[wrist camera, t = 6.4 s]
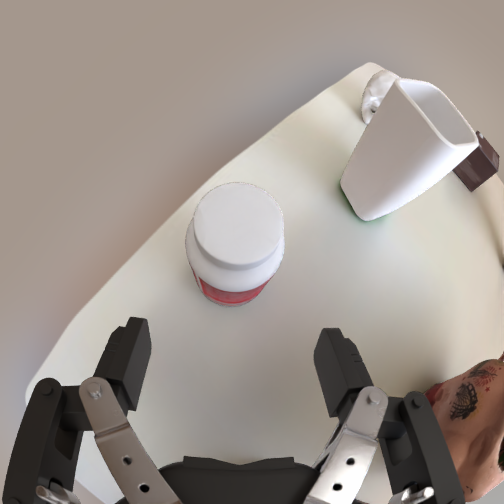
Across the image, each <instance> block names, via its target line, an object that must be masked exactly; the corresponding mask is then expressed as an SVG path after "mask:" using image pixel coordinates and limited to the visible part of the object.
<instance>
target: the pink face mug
mask: <svg viewBox="0 0 504 504" xmlns="http://www.w3.org/2000/svg"><path fill="white" fill-rule="evenodd" d="M503 361H504V352H503V354H502V356H501V357H500V358H499V359H498V360H497V359H490V360H486V361H483V362H480V363H479V364H477V365H475V366H474V367H472V368H471V369H469V370H468V371H466V372H465V373H463V374H461V375H459V376H456V377H454V378H452V379H449V380H447V381H445V382H442V383H438V384H435V385H433V386H432V387H431V388H429V389H428V390H427V391H426V392H425V393H424V395H425V396H426V397H427V399H428V401H429V403H430V405H431V407H432V410H433V412H434V414H435V416H436V419H437V421H438V423H439V426H440V428H441V431H442V433H443V436H444V438H445V441H446V443H447V446H448V449H449V451H450V454H451V457H452V460H453V462H454V465H455V468H456V471H457V474H458V477H459V480H460V484H461V487H462V490H463V494H464V497H465V502H472V501H475V500H478V499H480V498H481V497H482V496H484V495H485V494H486V493H487V492H488V491H490V490H491V489H492V488H494V487H495V486H497V485H498V484H500V483H501V482H502V481H503V480H504V362H503Z"/></svg>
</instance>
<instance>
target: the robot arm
mask: <svg viewBox="0 0 504 504" xmlns="http://www.w3.org/2000/svg"><path fill="white" fill-rule="evenodd" d="M150 355H151V338H150V333H149V327H148V322H147V319H145V318H137V317H130V318H129V320H128V322H127V324H126V327H121V326H119V327H118V328H117V329H116V330H115V331H114V332H113V333H112V334H111V336H110V338H109V340H108V343H107V345H106V347H105V350H104V352H103V354H102V356H101V359H100V361H99V363H98V366H97V368H96V370H95V373H94V375H93V377H90V378H88V379H86V380H85V381H83V382H82V384H81V385H79V386H61V385H60V383H59V382H58V381H57V380H55V379H53V378H45V379H42V380H40V381H39V382H38V383H37V384H36V386H35V388H34V391H33V393H32V396H31V398H30V400H29V403H28V406H27V408H26V411H25V414H24V416H23V419H22V422H21V425H20V428H19V431H18V434H17V437H16V441H15V444H14V447H13V451H12V454H11V458H10V462H9V466H8V471H7V475H6V480H5V485H4V491H3V497H2V501H3V504H81V502H80V501H79V499H78V498H77V496H76V495H75V494H74V493H72V491H73V484H74V478H75V472H76V466H77V460H78V455H79V450H80V446H81V441H82V437H83V432H84V431H94V433H95V436H94V438H95V441H96V444H97V446H98V448H99V450H100V452H101V454H102V456H103V458H104V460H105V462H106V464H107V466H108V468H109V470H110V472H111V474H112V476H113V477H114V479H115V481H116V483H117V484H118V486H119V488H120V489H121V491H122V493H123V494H124V496H125V497H123V498H122V499H121V500H119V501H118V502H117V503H115V504H362V503H361V502H359V501H358V500H356V499H355V496H356V494H357V492H358V490H359V488H360V486H361V484H362V482H363V480H364V477H365V475H366V473H367V471H368V468H369V466H370V464H371V461H372V459H373V457H374V454H375V452H376V449H377V446H378V440H376V438H378V439H379V442H380V446H381V450H382V453H383V457H384V461H385V465H386V468H387V472H388V476H389V481H390V485H391V489H392V493H393V497H392V498H391V499H390V501H389V503H388V504H465V497H464V494H463V490H462V487H461V484H460V480H459V477H458V474H457V471H456V468H455V465H454V462H453V460H452V457H451V454H450V451H449V449H448V446H447V443H446V441H445V438H444V436H443V433H442V431H441V428H440V426H439V423H438V421H437V419H436V416H435V414H434V412H433V410H432V407H431V405H430V403H429V401H428V399H427V397H426V396H425V395H424V394H422V393H420V392H417V391H412V392H409V393H408V394H407V395H406V396H405V397H404V398H397V397H388V396H387V395H386V393H385V392H384V391H383V390H381V389H380V388H377V387H374V385H373V383H372V380H371V378H370V376H369V374H368V371H367V369H366V367H365V365H364V362H362V361H363V360H362V358H361V356H360V355H359V351H358V349H357V347H356V345H355V344H354V343H353V342H352V341H351V340H350V339H349V338H344V337H343V335H342V332H341V330H340V329H339V328H323V329H322V331H321V334H320V336H319V339H318V342H317V345H316V348H315V350H314V364H315V367H316V370H317V374H318V377H319V381H320V384H321V388H322V391H323V395H324V398H325V402H326V406H327V409H328V413H329V416H330V418H331V417H338V418H339V422H338V424H337V426H336V428H335V430H334V432H333V433H332V435H331V437H330V439H329V441H328V443H327V444H326V446H325V448H324V450H323V451H322V453H321V454H320V456H319V457H318V459H317V460H316V461H315V463H314V464H313V466H312V467H310V466H307V465H304V464H300V463H295V462H294V457H286V458H271V459H264V460H260V461H256V462H252V463H248V464H244V465H236V464H231V463H227V462H223V461H219V460H215V459H212V458H200V457H189V456H184V460H183V461H182V462H176V463H172V464H169V465H166V466H164V467H162V468H160V469H157V467H156V466H155V464H154V463H153V461H152V460H151V458H150V457H149V455H148V454H147V452H146V451H145V449H144V448H143V446H142V444H141V443H140V441H139V439H138V438H137V436H136V434H135V432H134V431H133V429H132V427H131V425H130V424H129V422H128V420H127V418H126V417H127V413H128V410H132V411H136V409H137V404H138V400H139V396H140V392H141V388H142V384H143V381H144V377H145V373H146V369H147V366H148V362H149V359H150Z"/></svg>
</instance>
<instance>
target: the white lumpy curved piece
mask: <svg viewBox="0 0 504 504" xmlns="http://www.w3.org/2000/svg"><path fill="white" fill-rule="evenodd" d="M396 78H400V77H399V76H398V75H396V74H395V73H392V72H391V71H387V70H381V71H379V72H378V73H376V74H374V75H373V76H372V78H371V79H370V80H369V82H368V83H367V86H366V88H365V91H364V93H363V95H362V96H363V97H362V104H361V110H362V116H363V121H364V122H365V123H366V124H369V122H370V120H371V119H372V117H373V115H374V114H372V111H371V110H373V111H375V112H376V110H377V108H378V107H379V105H380V103H381V102H382V100H383V99H384V97H385V95H386V94H387V92H388V91H389V89H390V87H391V86H392V84H393V82H394V81H395V79H396Z"/></svg>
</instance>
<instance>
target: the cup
mask: <svg viewBox="0 0 504 504" xmlns="http://www.w3.org/2000/svg"><path fill="white" fill-rule="evenodd" d="M478 146H479V143H478V138H477V136H476V134H475V132H474V130H473V129H472V128H471V126H470V125H469V123H468V122H467V121H466V120H465V118H464V117H463V116H462V114H461V113H460V112H459V111H458V109H457V108H456V107H455V106H454V104H453V103H452V102H451V101H450V100H449V99H448V97H447V96H446V95H445V94H444V93H443V92H442V91H441V90H440V89H438V88H437V87H436V86H434V85H432V84H431V83H428V82H425V81H419V80H413V79H405V78H396V79H395V81H394V82H393V84H392V86H391V87H390V89H389V91H388V92H387V94H386V95H385V97H384V99H383V100H382V102H381V103H380V105H379V107H378V108H377V110H376V112H375V113H374V115H373V117H372V119H371V120H370V122H369V124H368V125H367V127H366V129H365V131H364V133H363V134H362V136H361V138H360V140H359V142H358V144H357V145H356V147H355V149H354V151H353V153H352V155H351V157H350V159H349V162H348V164H347V166H346V168H345V171H344V173H343V175H342V178H341V180H340V185H341V188H342V190H343V191H344V193H345V195H346V197H347V198H348V200H349V202H350V204H351V205H352V207H353V209H354V211H355V213H356V214H357V215H358V217H360V218H361V219H362V220H365V221H371V220H374V219H376V218H379V217H381V216H384V215H386V214H389V213H391V212H393V211H394V210H396V209H398V208H400V207H401V206H403V205H405V204H406V203H408V202H409V201H411V200H413V199H414V198H416V197H417V196H419V195H420V194H422V193H423V192H424V191H426V190H427V189H428V188H430V187H431V186H432V185H434V184H435V183H436V182H438V181H439V180H440V179H441V178H443V177H444V176H445V175H446V174H448V173H449V172H450V171H451V170H452V169H454V168H455V167H456V166H457V165H458V164H459V163H460V162H461V161H463V160H464V159H465V158H466V157H467V156H468V155H469V154H470V153H471V152H472V151H473V150H474V149H476V148H477V147H478Z"/></svg>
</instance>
